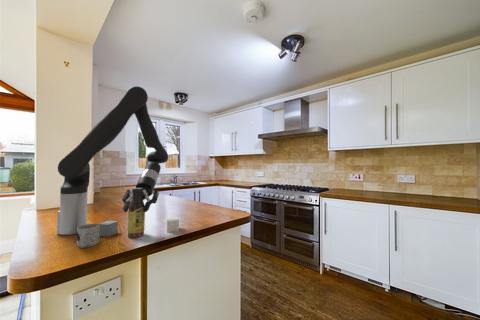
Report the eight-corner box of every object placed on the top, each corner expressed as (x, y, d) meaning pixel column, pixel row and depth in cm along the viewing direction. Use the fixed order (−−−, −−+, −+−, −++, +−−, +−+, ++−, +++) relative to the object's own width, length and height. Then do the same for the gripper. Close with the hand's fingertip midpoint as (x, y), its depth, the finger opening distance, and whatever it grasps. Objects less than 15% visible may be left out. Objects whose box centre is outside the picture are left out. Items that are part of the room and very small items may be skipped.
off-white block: (166, 232, 86) (167, 221, 86) (166, 228, 91) (166, 218, 91) (178, 231, 88) (178, 219, 88) (177, 227, 93) (178, 217, 93)
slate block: (97, 235, 82) (98, 223, 82) (108, 231, 87) (108, 220, 87) (107, 236, 81) (107, 224, 81) (117, 232, 86) (117, 221, 86)
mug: (80, 242, 75) (80, 224, 75) (101, 239, 78) (101, 222, 78) (70, 253, 66) (70, 233, 66) (94, 249, 69) (94, 230, 69)
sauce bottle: (137, 238, 78) (137, 189, 79) (123, 237, 80) (124, 188, 80) (147, 233, 85) (148, 187, 85) (135, 232, 86) (136, 187, 86)
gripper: (129, 175, 90) (113, 206, 78) (160, 175, 90) (149, 206, 78) (135, 185, 95) (121, 215, 83) (164, 185, 95) (154, 215, 84)
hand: (134, 211), depth 81 cm, fingers open, 7 cm apart
